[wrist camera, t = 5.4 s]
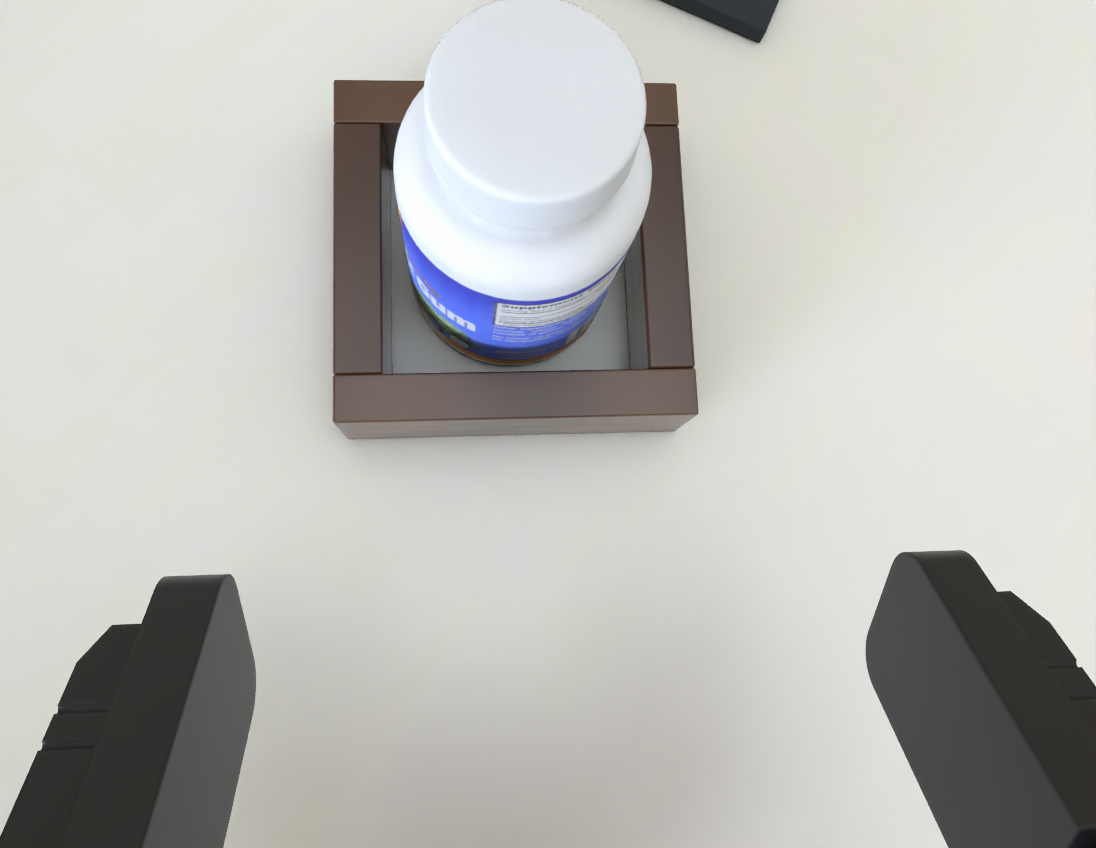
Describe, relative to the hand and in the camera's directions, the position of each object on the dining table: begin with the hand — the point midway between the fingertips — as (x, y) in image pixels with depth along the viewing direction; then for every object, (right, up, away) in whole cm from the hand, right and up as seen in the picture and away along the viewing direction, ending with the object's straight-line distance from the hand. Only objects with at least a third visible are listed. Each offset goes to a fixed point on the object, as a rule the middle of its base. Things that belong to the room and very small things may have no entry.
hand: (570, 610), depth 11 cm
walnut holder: (-1, +6, +14) cm, 16 cm away
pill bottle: (-1, +6, +14) cm, 16 cm away
